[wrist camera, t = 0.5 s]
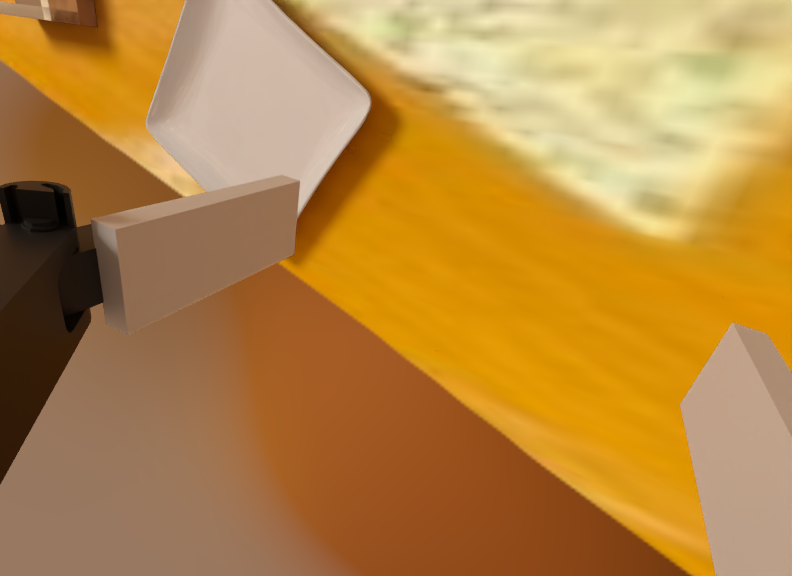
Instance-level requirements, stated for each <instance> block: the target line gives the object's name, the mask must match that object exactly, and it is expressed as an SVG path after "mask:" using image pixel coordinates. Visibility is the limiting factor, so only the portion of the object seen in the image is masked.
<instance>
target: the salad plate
mask: <svg viewBox="0 0 792 576" xmlns="http://www.w3.org/2000/svg"><path fill="white" fill-rule="evenodd" d="M371 106H372V99H371V96H370V94H369V92H368V91H367V90H366V89H365V88H364V87H363V86H362V85H361V84H360V83H359V82H358V81H357V80H356V79H355V78H354V77H353V76H352V75H351V74H350V73H349V72H348V71H347V70H346V69H345V68H343V67H342V66H341V65H340V64H339V63H338V62H337V61H336V60H334V59H333V58H332V57H331V56H330V55H329V54H328V53H327V52H325V51H324V50H323V49H322V48H321V47H320V46H319V45H318V44H317V43H315V42H314V41H313V40H312V39H311V38H310V37H309V36H308V35H307V34H306V33H305V32H304V31H303V30H302V29H300V28H299V27H298V26H297V25H296V24H295V23H294V22H293V21H292V20H291V19H290V18H289V17H288V16H287V15H286V14H285V13H284V12H283V11H282V10H281V9H280V8H279V7H278V6H277V5H276V4H275V3H274V2H273V0H185V3H184V6H183V9H182V12H181V16H180V19H179V22H178V25H177V28H176V31H175V34H174V37H173V40H172V44H171V47H170V50H169V53H168V56H167V59H166V62H165V65H164V68H163V71H162V74H161V77H160V80H159V82H158V85H157V88H156V90H155V93H154V96H153V99H152V102H151V105H150V108H149V111H148V115H147V119H146V127H147V130H148V131H149V133H150V134H151V135H152V136H153V137H154V138H155V139H156V141H157V142H158V143H159V144H160V145H161V146H162V147H163V148H164V149H165V150H166V151H167V152H168V153H169V154H170V155H171V156H172V157H173V158H174V159H175V160H176V161H177V162H178V164H179V165H180V166H181V167H182V168H183V169H184V170H185V171H186V172H187V173H188V174H189V175H190V176H191V177H192V178H193V179H194V180H195V181H196V182H197V183H198V184H199V185H200V186H201V187H202V188H203V189H204V190H205V191H206V192H210V191H214V190H218V189H223V188H227V187H231V186H236V185H240V184H244V183H249V182H253V181H257V180H262V179H266V178H270V177H275V176H279V175H284V176H287V177H290V178H293V179H296V180H299V181H300V189H299V201H298V213H297V219H298V218H299V216H300V214H301V213H302V211H303V210H304V208H305V206H306V205H307V203H308V202H309V200H310V198H311V197H312V195H313V194H314V192H315V191H316V189H317V188H318V186H319V185H320V183H321V182H322V180H323V179H324V177H325V176H326V174H327V173H328V171H329V170H330V168H331V167H332V166H333V164H334V163H335V161H336V160H337V158H338V157H339V156H340V154H341V153H342V152H343V150H344V149H345V148H346V146H347V145H348V144H349V142H350V141H351V140H352V138H353V137H354V136H355V134H356V133H357V132H358V130H359V129H360V127H361V126H362V124H363V123H364V121H365V119H366V118H367V116H368V114H369V112H370V109H371Z"/></svg>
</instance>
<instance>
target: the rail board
mask: <svg viewBox="0 0 792 576" xmlns="http://www.w3.org/2000/svg"><path fill="white" fill-rule="evenodd" d="M15 2H16V3H8V2H0V14H6V15H13V16H20V17H27V18H34V19H41V20H48V21H55V22H62V23H69V24H77V25H84V26H91V27H97V20H96V13H95V6H94V0H15Z"/></svg>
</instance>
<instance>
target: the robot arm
mask: <svg viewBox="0 0 792 576" xmlns="http://www.w3.org/2000/svg"><path fill="white" fill-rule="evenodd" d="M299 189H300V181H299V180H296V179H293V178H290V177H287V176H284V175H279V176H275V177H270V178H266V179H262V180H257V181H253V182H249V183H244V184H240V185H236V186H231V187H227V188H223V189H218V190H214V191H210V192H205V193H201V194H197V195H192V196H188V197H184V198H179V199H175V200H171V201H167V202H162V203H158V204H153V205H149V206H145V207H140V208H136V209H132V210H127V211H123V212H119V213H114V214H110V215H106V216H102V217H97V218H93V219H91V224H89V225H85V226H81V227H77V226H76V220H75V214H74V208H73V202H72V196H71V190H70V189H69V188H68V187H67V186H65V185H61V184H59V183H53V182H46V181H23V182H13V183H8V184H4V185H1V186H0V204H1V208H2V212H3V216H4V220H5V224H4V225H0V484H1V482H2V480H3V479H4V477H5V475H6V473H7V471H8V470H9V468H10V466H11V464H12V462H13V460H14V459H15V457H16V455H17V453H18V452H19V450H20V448H21V446H22V444H23V443H24V441H25V439H26V437H27V435H28V434H29V432H30V430H31V428H32V426H33V424H34V423H35V421H36V419H37V417H38V416H39V414H40V412H41V410H42V409H43V407H44V405H45V403H46V401H47V399H48V398H49V396H50V394H51V392H52V391H53V389H54V387H55V385H56V383H57V382H58V380H59V378H60V376H61V374H62V373H63V371H64V369H65V367H66V365H67V364H68V362H69V360H70V358H71V356H72V354H73V353H74V351H75V349H76V347H77V346H78V344H79V342H80V340H81V338H82V337H83V335H84V333H85V331H86V329H87V328H88V326H89V324H90V322H91V313H90V307H93V306H95V305H98V304H100V303H103V308H104V314H105V321H106V324H107V325H109V326H111V327H113V328H115V329H117V330H119V331H121V332H123V333H125V334H126V335H129V334H132V333H133V332H136V331H137V330H140V329H142V328H144V327H146V326H148V325H150V324H152V323H154V322H156V321H158V320H160V319H162V318H164V317H166V316H169V315H171V314H173V313H175V312H176V311H179V310H181V309H183V308H185V307H187V306H189V305H191V304H193V303H195V302H197V301H199V300H201V299H203V298H206V297H208V296H209V295H212V294H214V293H216V292H218V291H220V290H222V289H224V288H226V287H228V286H230V285H232V284H234V283H236V282H238V281H240V280H243V279H245V278H247V277H248V276H251V275H253V274H255V273H257V272H259V271H261V270H263V269H265V268H267V267H269V266H271V265H273V264H275V263H277V262H280V261H282V260H284V259H286V258H288V257H290V256H292V255H294V249H295V237H296V225H297V213H298V201H299ZM680 406H681V411H682V416H683V420H684V425H685V430H686V435H687V440H688V444H689V449H690V454H691V459H692V464H693V468H694V473H695V478H696V483H697V488H698V492H699V497H700V502H701V507H702V512H703V516H704V521H705V526H706V531H707V536H708V540H709V545H710V550H711V555H712V560H713V564H714V569H715V574H716V576H792V372H791V371H790V369H789V367H788V366H787V364H786V363H785V361H784V360H783V358H782V356H781V355H780V353H779V352H778V350H777V349H776V347H775V345H774V344H773V342H772V341H771V339H770V338H769V336H768V335H767V334H766V333H763V332H760V331H757V330H754V329H751V328H748V327H744V326H741V325H738V324H735V323H732V324H731V326H730V327H729V329H728V330H727V332H726V333H725V335H724V337H723V338H722V340H721V341H720V343H719V344H718V346H717V348H716V349H715V351H714V352H713V354H712V355H711V357H710V359H709V360H708V362H707V363H706V365H705V366H704V368H703V369H702V371H701V373H700V374H699V376H698V377H697V379H696V380H695V382H694V384H693V385H692V387H691V388H690V390H689V391H688V393H687V395H686V396H685V398H684V399H683V401H682V402H681V404H680Z"/></svg>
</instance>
